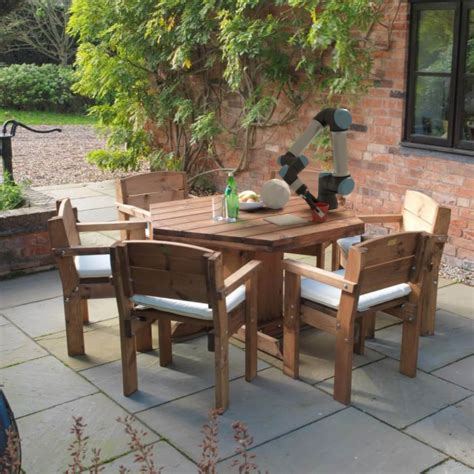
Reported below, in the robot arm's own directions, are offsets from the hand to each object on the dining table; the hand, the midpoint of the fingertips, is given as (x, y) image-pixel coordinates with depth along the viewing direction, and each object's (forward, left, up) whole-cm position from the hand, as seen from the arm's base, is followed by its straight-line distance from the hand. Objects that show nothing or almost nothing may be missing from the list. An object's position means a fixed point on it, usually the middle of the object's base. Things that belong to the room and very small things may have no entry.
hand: (324, 214), depth 435 cm
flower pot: (+2, -2, -4) cm, 5 cm away
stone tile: (+20, -11, -4) cm, 23 cm away
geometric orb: (+7, -43, -4) cm, 44 cm away
